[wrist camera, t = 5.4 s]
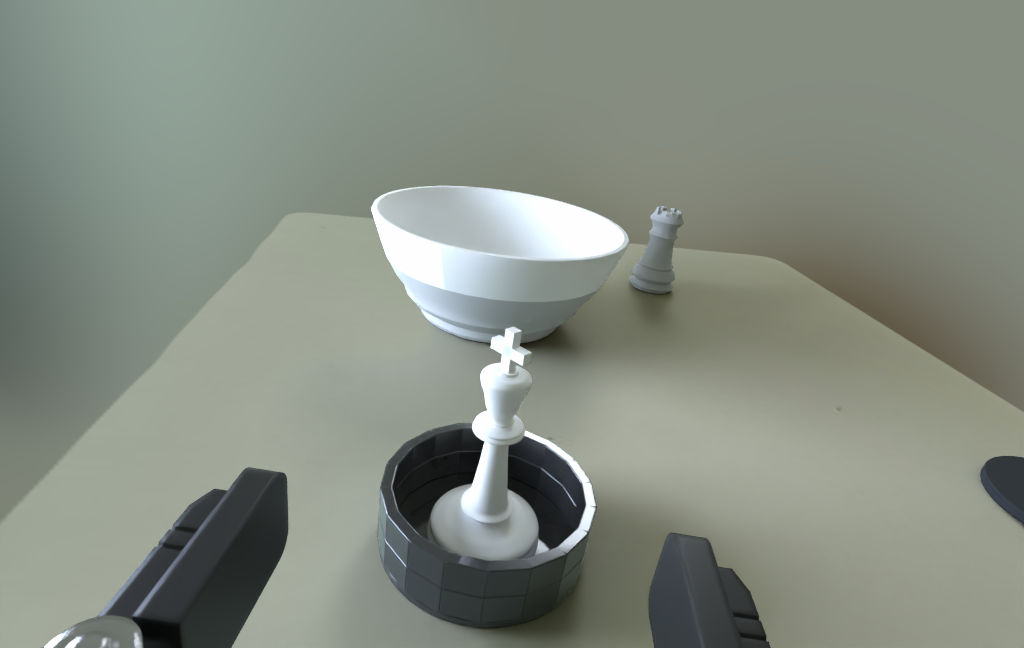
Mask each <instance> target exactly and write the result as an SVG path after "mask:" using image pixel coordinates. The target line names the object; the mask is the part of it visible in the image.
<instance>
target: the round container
mask: <svg viewBox="0 0 1024 648" xmlns="http://www.w3.org/2000/svg"><path fill="white" fill-rule="evenodd" d="M472 425H473V423H458V424H453V425H449V426H444V427H440V428H435V429H431V430H429V431H427V432H425V433H423V434H421V435H419V436H417V437H415V438H413V439H412V440H410V441H408V442H406V443H405V444H404V445H403V446H402V447H401V448H400V449H399V450H398V451H397V452H396V453H395V455H394V456H393V457H392V458H391V459H390V460H389V461H388V463H387V464H386V468H385V471H384V475H383V479H382V482H381V486H380V499H379V518H378V541H379V551H380V556H381V560H382V563H383V566H384V568H385V571H386V572H387V574H388V576H389V578H390V579H391V581H392V582H393V584H394V585H395V586H396V587H397V589H398V590H399V591H400V592H401V593H402V594H403V595H404V596H405V597H406V598H407V599H408V600H410V601H411V602H412V603H414V604H415V605H417V606H418V607H419V608H421V609H422V610H424V611H426V612H428V613H430V614H432V615H434V616H436V617H439V618H441V619H444V620H446V621H449V622H453V623H457V624H461V625H466V626H473V627H489V628H495V627H505V626H512V625H516V624H521V623H525V622H527V621H530V620H533V619H536V618H538V617H540V616H542V615H543V614H545V613H547V612H549V611H550V610H552V609H553V608H554V607H556V606H557V605H558V604H560V603H561V602H562V601H563V600H564V599H565V598H566V597H567V596H568V594H569V593H570V591H571V590H572V589H573V587H574V586H575V583H576V582H577V580H578V577H579V574H580V571H581V567H582V564H583V561H584V557H585V554H586V550H587V546H588V542H589V538H590V534H591V530H592V526H593V522H594V518H595V514H596V510H597V506H596V501H595V497H594V492H593V487H592V483H591V481H590V480H589V478H588V477H587V475H586V474H585V473H584V471H583V470H582V468H581V467H580V466H579V464H578V463H577V461H576V460H575V459H574V458H572V457H571V456H570V455H568V454H567V453H566V452H564V451H563V450H562V449H560V448H559V447H558V446H557V445H555V444H554V443H552V442H551V441H549V440H546V439H544V438H542V437H539V436H537V435H535V434H532V433H530V432H528V431H526V430H525V435H524V437H523V439H522V440H521V441H519V442H517V443H515V444H512V445H508V483H507V489H509V490H511V491H513V492H514V493H516V494H518V495H519V496H521V497H522V498H523V499H524V500H525V501H526V502H527V503H528V504H529V505H530V506H531V508H532V509H533V511H534V512H535V514H536V517H537V520H538V526H539V531H538V546H537V549H536V552H535V554H534V555H533V557H530V558H527V559H513V560H495V561H487V560H483V559H478V558H474V557H470V556H465V555H461V554H456V553H452V552H449V551H447V550H445V549H444V548H442V547H440V546H438V545H437V544H435V543H433V542H431V541H429V540H428V535H427V526H428V522H429V519H430V515H431V512H432V509H433V507H434V505H435V503H436V502H437V501H438V500H439V498H440V497H442V496H443V495H444V494H445V493H447V492H448V491H450V490H452V489H454V488H457V487H459V486H463V485H467V484H473V481H474V478H475V474H476V471H477V468H478V464H479V461H480V457H481V454H482V449H483V445H484V441H482V440H481V439H479V438H478V437H477V436H476V435H475V434H474V432H473V429H472Z"/></svg>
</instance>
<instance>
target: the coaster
mask: <svg viewBox="0 0 1024 648" xmlns="http://www.w3.org/2000/svg"><path fill="white" fill-rule="evenodd" d="M980 476H981V481H982V483H983V485H984V487H985V489H986V490H987V492H988V493H989V494H990V495H991V496H992V497H993V499H994V500H995V501H996V502H997V503H998V504H999V505H1000V506H1002V507H1003V508H1004V509H1005V510H1006V511H1008V512H1009V513H1010V514H1011V515H1013V516H1014V517H1015V518H1017V519H1018V520H1019V521H1021V522H1022V523H1024V458H1023V457H1015V456H999V457H994V458H992V459H990V460H988V461H987V462H986V463H985V465H984V467H983V468H982V470H981V474H980Z"/></svg>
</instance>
